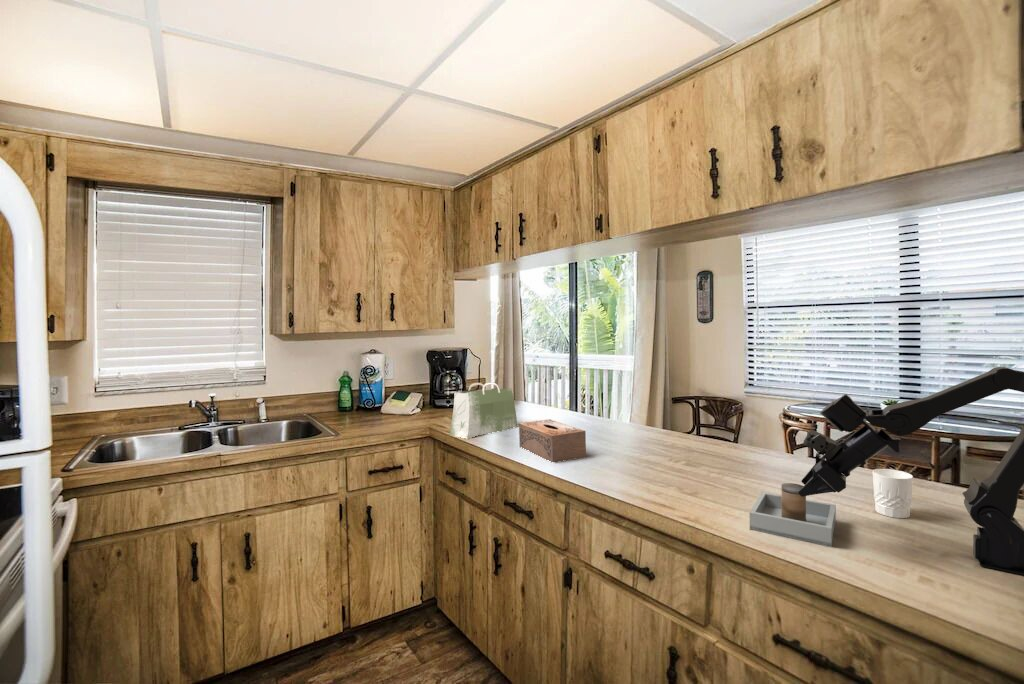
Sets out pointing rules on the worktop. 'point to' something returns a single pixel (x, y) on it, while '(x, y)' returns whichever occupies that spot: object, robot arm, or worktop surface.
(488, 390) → the grocery bag
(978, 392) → the robot arm
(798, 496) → the spice jar
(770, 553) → the worktop surface
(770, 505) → the bin
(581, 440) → the tissue box cover
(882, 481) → the white cup
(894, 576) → the worktop surface
